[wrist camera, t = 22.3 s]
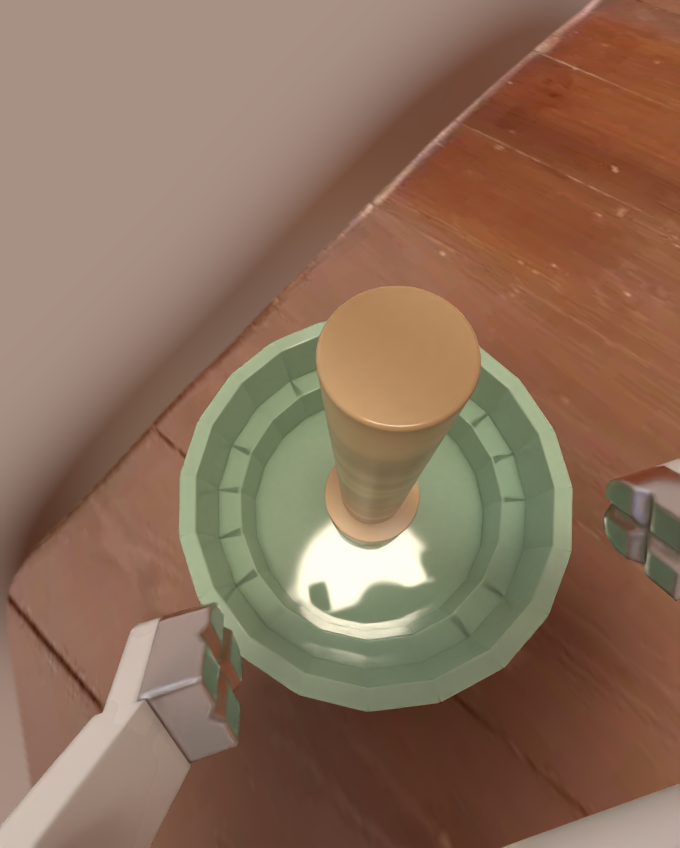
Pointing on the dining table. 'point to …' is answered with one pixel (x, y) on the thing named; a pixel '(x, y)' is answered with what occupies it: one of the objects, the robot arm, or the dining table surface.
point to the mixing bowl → (379, 565)
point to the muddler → (390, 402)
